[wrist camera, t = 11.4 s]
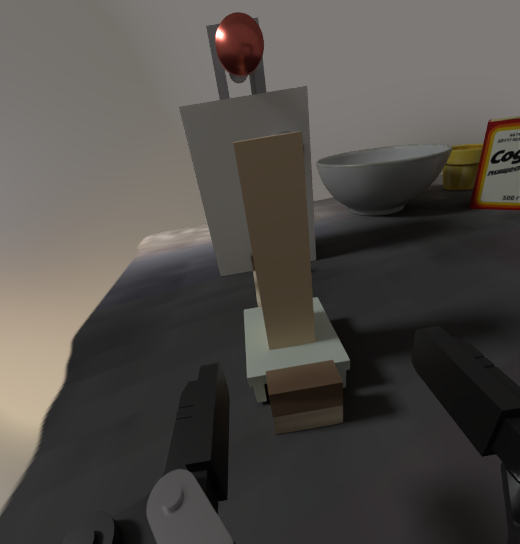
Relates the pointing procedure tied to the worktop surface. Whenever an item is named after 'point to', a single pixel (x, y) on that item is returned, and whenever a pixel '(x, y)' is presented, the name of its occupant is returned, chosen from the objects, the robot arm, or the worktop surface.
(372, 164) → the decorative bowl
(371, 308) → the worktop surface
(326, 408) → the rail
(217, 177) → the grey tall flat block
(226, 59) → the ball
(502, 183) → the baking soda box
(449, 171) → the plant pot
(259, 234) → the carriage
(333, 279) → the worktop surface
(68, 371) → the worktop surface
